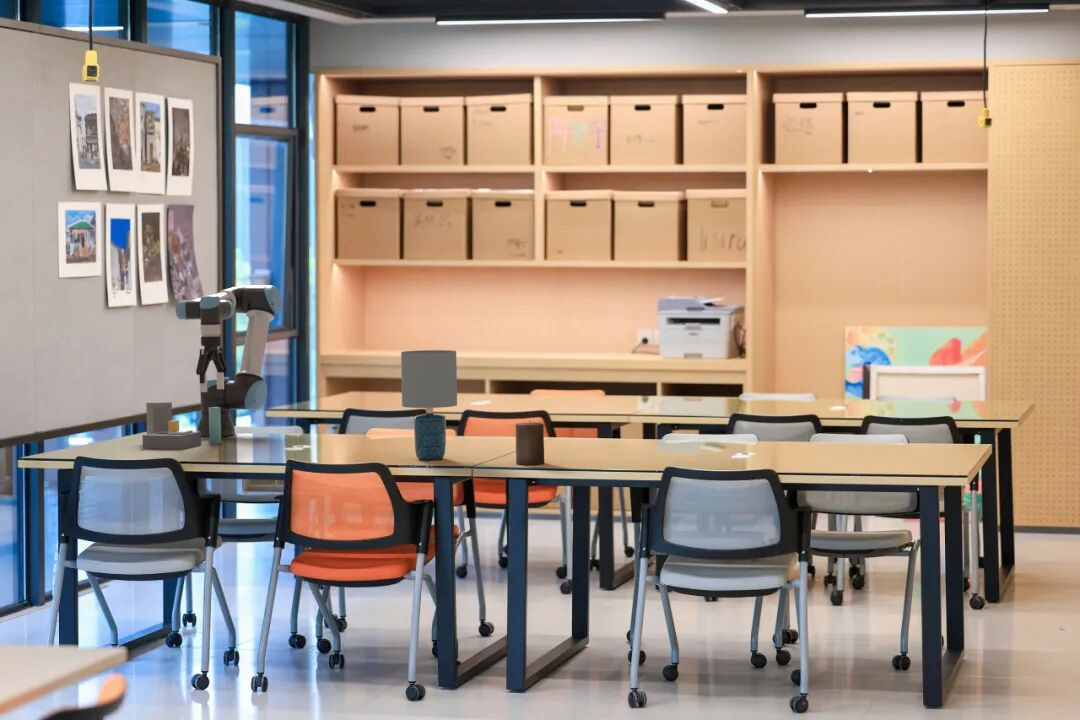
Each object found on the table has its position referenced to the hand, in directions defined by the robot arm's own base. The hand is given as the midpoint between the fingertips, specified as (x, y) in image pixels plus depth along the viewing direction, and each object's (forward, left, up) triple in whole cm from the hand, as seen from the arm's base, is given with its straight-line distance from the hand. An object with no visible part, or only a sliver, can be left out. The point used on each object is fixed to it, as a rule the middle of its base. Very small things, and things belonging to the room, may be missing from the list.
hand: (212, 390), depth 613 cm
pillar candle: (+39, +139, -21) cm, 145 cm away
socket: (+12, -11, -21) cm, 26 cm away
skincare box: (-2, -24, -21) cm, 32 cm away
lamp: (+33, +101, -21) cm, 108 cm away
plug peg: (0, +1, -21) cm, 21 cm away
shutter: (+12, -8, -15) cm, 21 cm away
